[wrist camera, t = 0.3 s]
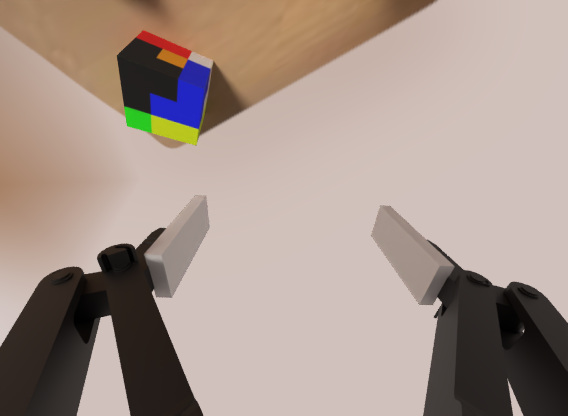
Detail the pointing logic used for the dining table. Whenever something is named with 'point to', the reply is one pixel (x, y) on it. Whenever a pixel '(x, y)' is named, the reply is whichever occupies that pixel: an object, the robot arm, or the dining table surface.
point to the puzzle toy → (164, 87)
